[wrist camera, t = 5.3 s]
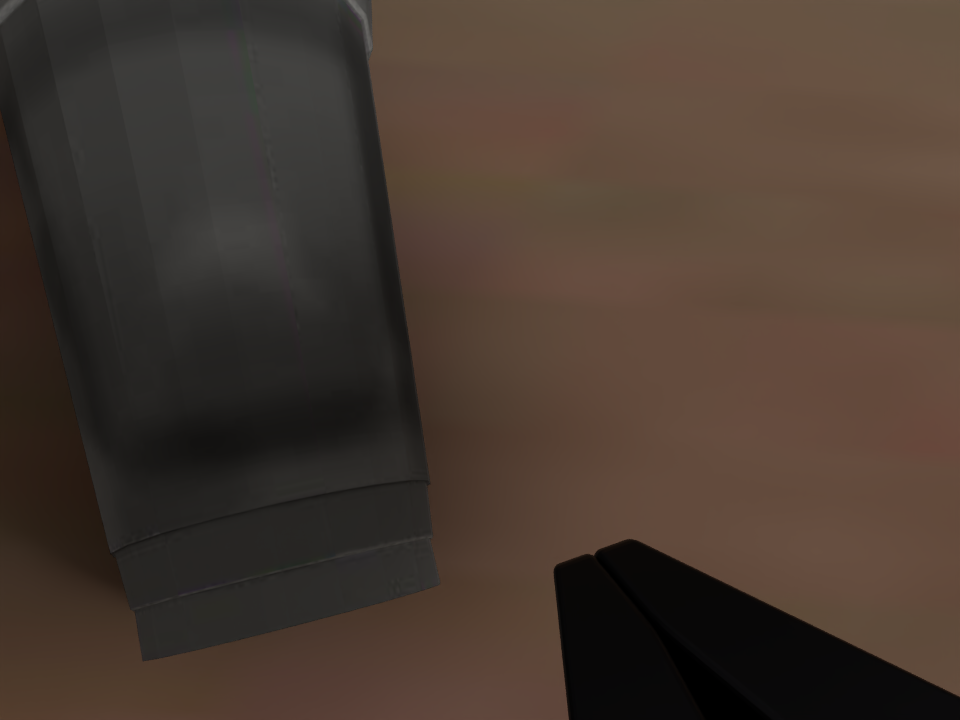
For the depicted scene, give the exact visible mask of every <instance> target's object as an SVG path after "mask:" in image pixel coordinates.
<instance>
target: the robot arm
mask: <svg viewBox="0 0 960 720" xmlns="http://www.w3.org/2000/svg"><path fill="white" fill-rule="evenodd" d="M554 582H555V591H556V601H557V611H558V620H559V630H560V639H561V649H562V658H563V668H564V677H565V687H566V697H567V706H568V716H569V720H960V697H959V696H957V695H955V694H953V693H951V692H949V691H947V690H945V689H943V688H941V687H939V686H936V685H934V684H932V683H930V682H928V681H926V680H924V679H922V678H920V677H918V676H916V675H914V674H912V673H910V672H908V671H906V670H903V669H901V668H899V667H897V666H895V665H893V664H891V663H889V662H887V661H885V660H883V659H881V658H879V657H877V656H875V655H873V654H870V653H868V652H866V651H864V650H862V649H860V648H858V647H856V646H854V645H852V644H850V643H848V642H846V641H844V640H842V639H839V638H837V637H835V636H833V635H831V634H829V633H827V632H825V631H823V630H821V629H819V628H817V627H815V626H813V625H811V624H809V623H806V622H804V621H802V620H800V619H798V618H796V617H794V616H792V615H790V614H788V613H786V612H784V611H782V610H780V609H778V608H776V607H773V606H771V605H769V604H767V603H765V602H763V601H761V600H759V599H757V598H755V597H753V596H751V595H749V594H747V593H745V592H743V591H740V590H738V589H736V588H734V587H732V586H730V585H728V584H726V583H724V582H722V581H720V580H718V579H716V578H714V577H712V576H709V575H707V574H705V573H703V572H701V571H699V570H697V569H695V568H693V567H691V566H689V565H687V564H685V563H683V562H681V561H679V560H676V559H674V558H672V557H670V556H668V555H666V554H664V553H662V552H660V551H658V550H656V549H654V548H652V547H650V546H648V545H646V544H643V543H641V542H639V541H637V540H633V539H627V540H624V541H621V542H618V543H615V544H612V545H610V546H607V547H604V548H601V549H599V550H597V552H596V553H595V554H594V556H593V555H590V554H585V555H582V556H579V557H576V558H573V559H571V560H568V561H565V562H562V563H559V564H557V565H556V566H555V568H554Z"/></svg>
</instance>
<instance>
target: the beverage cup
mask: <svg viewBox="0 0 960 720" xmlns="http://www.w3.org/2000/svg"><path fill="white" fill-rule="evenodd" d="M372 49H373V41H372V8H371V0H0V109H1V113H2V117H3V122H4V126H5V130H6V134H7V138H8V142H9V146H10V150H11V154H12V158H13V162H14V166H15V170H16V174H17V178H18V182H19V186H20V190H21V194H22V198H23V202H24V206H25V210H26V214H27V219H28V223H29V227H30V231H31V235H32V239H33V243H34V247H35V251H36V255H37V259H38V263H39V267H40V271H41V275H42V279H43V283H44V287H45V291H46V295H47V299H48V303H49V307H50V311H51V316H52V320H53V324H54V328H55V332H56V336H57V340H58V344H59V348H60V352H61V356H62V360H63V364H64V368H65V372H66V376H67V380H68V384H69V388H70V392H71V396H72V400H73V404H74V409H75V413H76V417H77V421H78V425H79V429H80V433H81V437H82V441H83V445H84V449H85V453H86V457H87V461H88V465H89V469H90V473H91V477H92V481H93V485H94V489H95V493H96V497H97V501H98V506H99V510H100V514H101V518H102V522H103V526H104V530H105V534H106V538H107V542H108V546H109V550H110V554H111V555H112V556H113V557H116V560H117V563H118V567H119V571H120V574H121V578H122V581H123V585H124V588H125V592H126V595H127V599H128V602H129V606H130V609H131V610H132V611H135V615H136V622H137V628H138V634H139V641H140V647H141V654H142V660H143V661H147V660H153V659H159V658H163V657H168V656H172V655H177V654H181V653H186V652H190V651H195V650H199V649H203V648H207V647H211V646H215V645H220V644H224V643H228V642H232V641H236V640H240V639H244V638H248V637H252V636H256V635H260V634H264V633H268V632H272V631H276V630H280V629H284V628H288V627H292V626H296V625H299V624H303V623H307V622H311V621H315V620H318V619H322V618H326V617H330V616H333V615H337V614H341V613H345V612H349V611H352V610H356V609H359V608H363V607H367V606H370V605H374V604H377V603H381V602H385V601H388V600H392V599H395V598H399V597H402V596H405V595H409V594H412V593H416V592H419V591H422V590H425V589H428V588H431V587H434V586H437V585H439V584H440V580H439V575H438V571H437V567H436V562H435V558H434V553H433V549H432V545H431V540H430V539H432V537H433V532H432V524H431V515H430V506H429V498H428V489H427V485H429V484H430V479H429V472H428V465H427V458H426V452H425V445H424V438H423V431H422V424H421V418H420V411H419V404H418V397H417V390H416V383H415V377H414V370H413V363H412V356H411V349H410V342H409V336H408V329H407V322H406V315H405V308H404V302H403V295H402V288H401V281H400V274H399V267H398V261H397V254H396V247H395V240H394V233H393V226H392V220H391V213H390V206H389V199H388V192H387V186H386V179H385V172H384V165H383V158H382V151H381V145H380V138H379V131H378V124H377V117H376V110H375V104H374V97H373V90H372V83H371V76H370V70H369V63H368V61H369V58H370V55H371V52H372Z"/></svg>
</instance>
